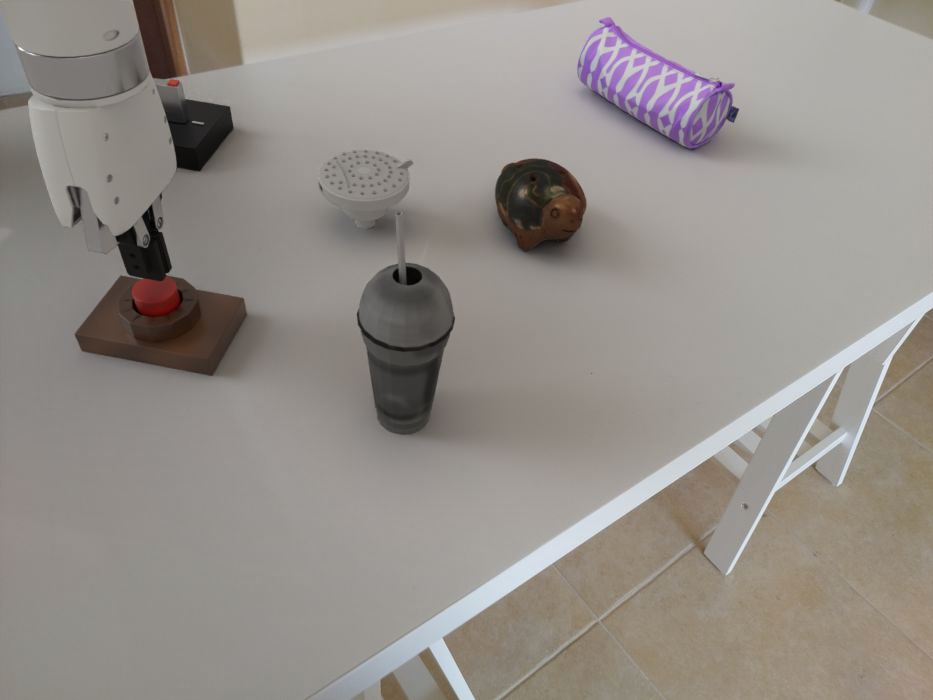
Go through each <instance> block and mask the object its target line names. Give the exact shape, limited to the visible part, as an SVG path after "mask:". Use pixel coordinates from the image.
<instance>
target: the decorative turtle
mask: <svg viewBox="0 0 933 700" xmlns="http://www.w3.org/2000/svg"><path fill="white" fill-rule="evenodd" d="M494 201H495V205H496V209H497V213H498V216H499V219H500V221H501V223H502V225H504V226H505V227H506V228H509V229H510V230H511V232H512V234H513V237H514V239H515V242H516V245H517V246H518V248H519V249H520V250H522V251H525V252H526V251H529V250H531V249H533V248H535V247H536V246H537V245H539V244H540V243H541V242H543V241H545V240H557V242H559V243H566V242H569V240H571V238H572V237H573V236H574V234H575V233H576V232H577V231H578V230H580V229H581V226H582V223H583V219H584V215H585V213H586V210H587V207H588V204H587V197H586V194H585V192H584V189H583V188H582V186H581V184H580V183H579V181H578V179H577V178H576V177H575V176H574V175H573V174H572V173H571V172H570V171H569V170H568V169H567V168H565V167H564V166H563V165H561V164H559V163H557V162H554V161H552V160H549V159H545V158H526V159H521V160H519V161H516V162H510V163H507V164H505V166H503V168H502V169H501V171H500V174H499V175H498V178H497V180H496V182H495V187H494Z"/></svg>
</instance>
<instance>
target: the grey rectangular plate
mask: <svg viewBox="0 0 933 700" xmlns="http://www.w3.org/2000/svg"><path fill="white" fill-rule="evenodd" d="M152 78H153V80H154V83H155V85H156V88H157V91H158V93H159V96H160V99H161V102H162V105H163V108H164V111H165V114H166V118H167V121H170V122H177V123H186V121H187V120H188V119H189V114H188V110H187V105H186V100H185V99H186V94H185V92H184V86H183V82H182V81H180V80H179V79H175V78H174V79H173V78H169V79H163V78H155V77H152Z"/></svg>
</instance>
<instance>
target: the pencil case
mask: <svg viewBox="0 0 933 700" xmlns="http://www.w3.org/2000/svg"><path fill="white" fill-rule="evenodd" d="M598 22H599V23H600V24H602V25H604V26H600V27H597V28H596V29H595V30H594V31H592V33H590V35H589V36H588V37H587V39H586V40H585V43H584V45H583V47H582V50H581V51H580V55H579V57H578V61H577V67H576V68H577V70H576V71H577V72H576V73H577V78H578V79H579V81H580V82H581V84H583V86H586V87H587V88H589V89H590V90H591V91H594V92H595V93H596V94H598V95H599V96H601V97H602V98H605V99H606V100H607V101H609V102H610V103H612V104H614V105H615V106H616V107H618V108H619V109H621V110H622V111H624V112H626V114H629V115H630V116H632V117H634V118H635V119H637V120H638V121H640V122H642V123H643V124H645V125H647V126H649V127H651V129H653V130H656V132H658V133H660V134H662V135H663V136H665V137H667V138H669V139H671V140H672V141H674V142H676V143H678V144H679V145H680V146H682V147H685V148H688V149H689V150H691V149H697V148H699V147H701V146H703V145H705V144H706V143H709V142H710V141H712V139H714V138H715V137H716V136H717V135H718V133H719V132H720V130H721V129H722V128H723V126H724V125H725V123H726V121H728V122H730V123H732V124H734V123H735V121H736V119H737V117H738V113H739V111H740V108H739V107H736V106H733V102H734V98H733V94H732V92H731V90H732V89H733V88H734V87H735V86H736V83H734V82H726V83H725V82H723V81H720V78H719V77H717V76H713V77H711V76H708V75H705V74H704V73H703V74H702V73H699V72H695V71H694V70H692V69H690V68H687V67H685V66H683V65H681V64H679V63H677V62H675V61H673V60H669V59H667V58H665V57H664V56H662V55H661V54H659V53H657V52H655V51H653V50H652V49H649V48H648V47H646V46H644V45H643V44H641V43H639V42H638V41H637V40H635V39H633V37H631V36H630V35H629V34H628V33H627V32H625V31H624V30H623V29H622V28H621V26H619V25H616V23H615V21H614V20H613V18H612V17H611V16H607V17H604V18H601V19H599V20H598Z"/></svg>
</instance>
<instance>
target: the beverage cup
mask: <svg viewBox="0 0 933 700" xmlns="http://www.w3.org/2000/svg"><path fill="white" fill-rule="evenodd" d="M394 216H395V217H394V218H395V233H396V249H397V263H394V264H391V265H388V266H386V267H384V268H382V269H380V270H379V271H377V272H376V273H375V275H373V277H372V278H371V279H370V280H369V281H368V282H367V283H366V285H365V286H364V289H363V291H362V293H361V296H360V301H359V303H358V304H359V305H358V309H357V312H356V321H357V325H358V328H359V329H360V334H361V337H362V340H363V343H364V345H365V347H366V355H367V362H368V367H369V374H370V381H371V389H372V395H373V403H374V408H375V410H376V417H377V420H378V422H379V423H380V425H381V426H382V427H383V428H384V429H385V430H386V431H389V432H391V433H393V434H399V435H410V434H413V433H416V432H419V431H421V429H423V428H424V427H425V426H426V425H427V423H428V422H429V419H430V416H431V411H432V409H433V405H434V401H435V396H436V390H437V386H438V381H439V376H440V372H441V367H442V361H443V356H444V351H445V348H446V347H447V345H448V342H449V339H450V336H451V332H452V331H453V330H454V326H455V321H456V316H455V312H454V306H453V301H452V297H451V293H450V291H449V289H448V287H447V285H446V284H445V283H444V281H443V280H442V279H441V277H440V276H439V275H437V274H436V273H435V272H434V271H432V269H430V268H428V267H426V266H423V265H421V264H418V263H413V262H406V248H405V247H406V246H405V233H404V232H405V229H404V228H405V227H404V214H403V212H402V211H396V212H395V214H394Z"/></svg>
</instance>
